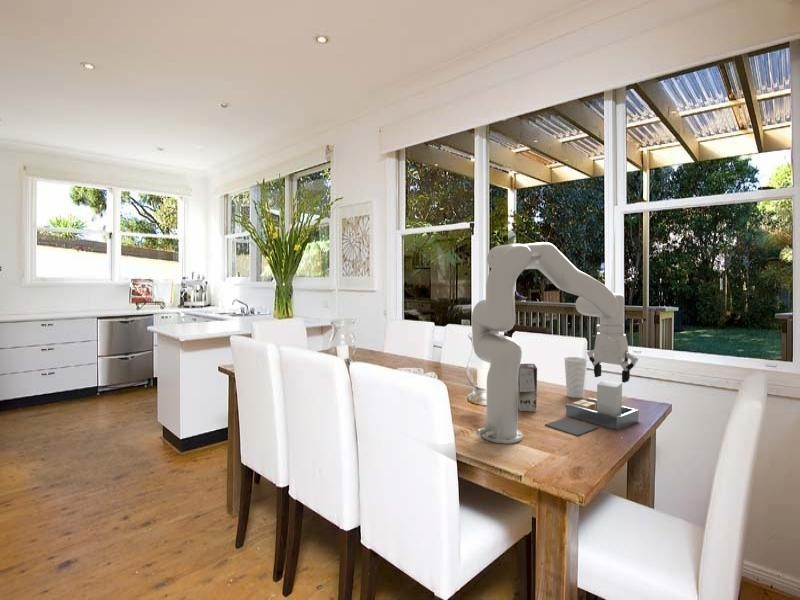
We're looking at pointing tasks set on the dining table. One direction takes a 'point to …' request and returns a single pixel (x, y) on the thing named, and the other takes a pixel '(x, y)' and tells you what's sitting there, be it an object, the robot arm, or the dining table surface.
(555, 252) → the robot arm
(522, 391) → the coffee box
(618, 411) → the small box
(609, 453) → the dining table surface
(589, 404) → the offcut
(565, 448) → the dining table surface
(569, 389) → the cup
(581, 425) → the mat
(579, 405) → the offcut
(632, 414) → the grey tray
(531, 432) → the dining table surface
